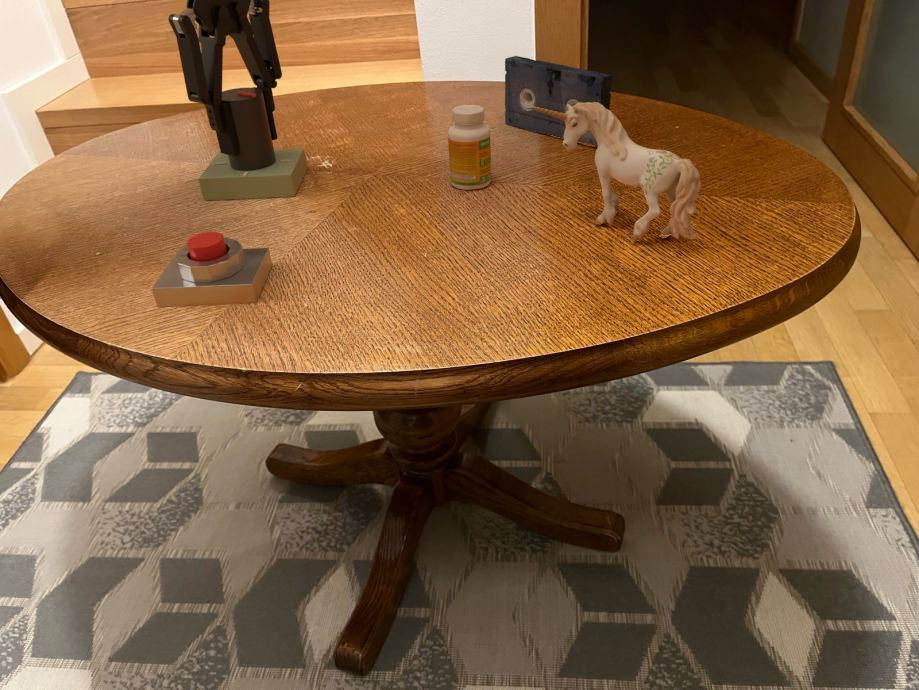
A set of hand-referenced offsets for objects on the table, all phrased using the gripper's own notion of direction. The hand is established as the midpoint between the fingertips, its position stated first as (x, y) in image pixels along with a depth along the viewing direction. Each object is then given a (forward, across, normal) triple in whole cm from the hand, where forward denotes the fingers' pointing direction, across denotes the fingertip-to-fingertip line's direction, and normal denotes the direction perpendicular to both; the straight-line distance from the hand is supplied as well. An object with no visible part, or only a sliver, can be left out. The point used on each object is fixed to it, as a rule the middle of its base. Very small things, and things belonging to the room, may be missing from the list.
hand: (249, 145), depth 96 cm
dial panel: (+5, 0, 0) cm, 5 cm away
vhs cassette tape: (+6, +36, -26) cm, 45 cm away
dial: (+2, 0, 0) cm, 2 cm away
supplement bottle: (+6, +14, -26) cm, 30 cm away
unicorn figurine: (+6, +8, -48) cm, 49 cm away
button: (+2, -22, -17) cm, 28 cm away
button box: (+5, -22, -17) cm, 29 cm away
